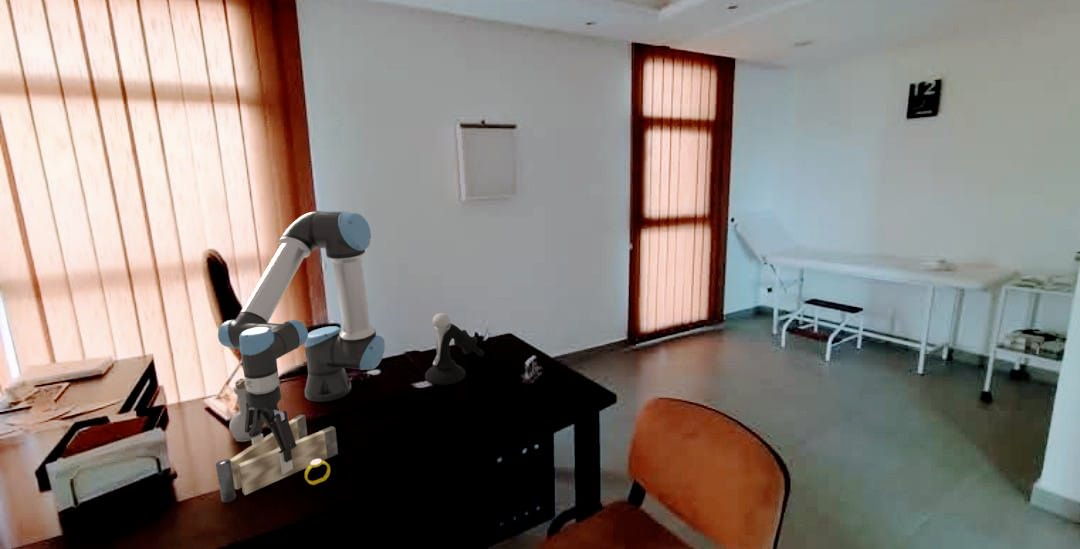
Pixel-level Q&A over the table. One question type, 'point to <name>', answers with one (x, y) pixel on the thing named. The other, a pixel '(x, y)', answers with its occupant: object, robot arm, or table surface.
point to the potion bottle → (240, 414)
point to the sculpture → (444, 366)
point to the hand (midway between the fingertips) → (273, 464)
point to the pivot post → (225, 480)
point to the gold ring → (315, 464)
